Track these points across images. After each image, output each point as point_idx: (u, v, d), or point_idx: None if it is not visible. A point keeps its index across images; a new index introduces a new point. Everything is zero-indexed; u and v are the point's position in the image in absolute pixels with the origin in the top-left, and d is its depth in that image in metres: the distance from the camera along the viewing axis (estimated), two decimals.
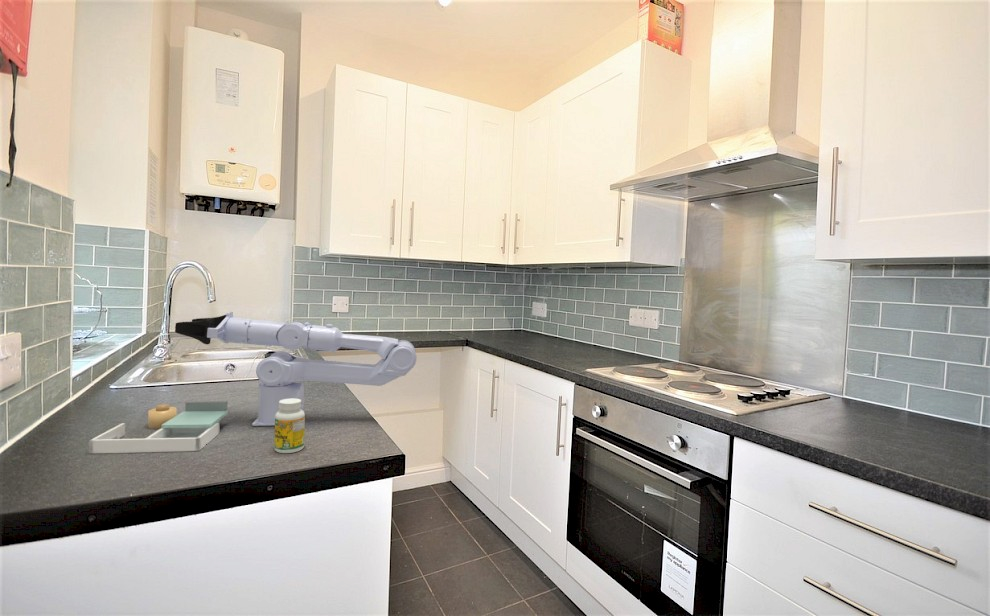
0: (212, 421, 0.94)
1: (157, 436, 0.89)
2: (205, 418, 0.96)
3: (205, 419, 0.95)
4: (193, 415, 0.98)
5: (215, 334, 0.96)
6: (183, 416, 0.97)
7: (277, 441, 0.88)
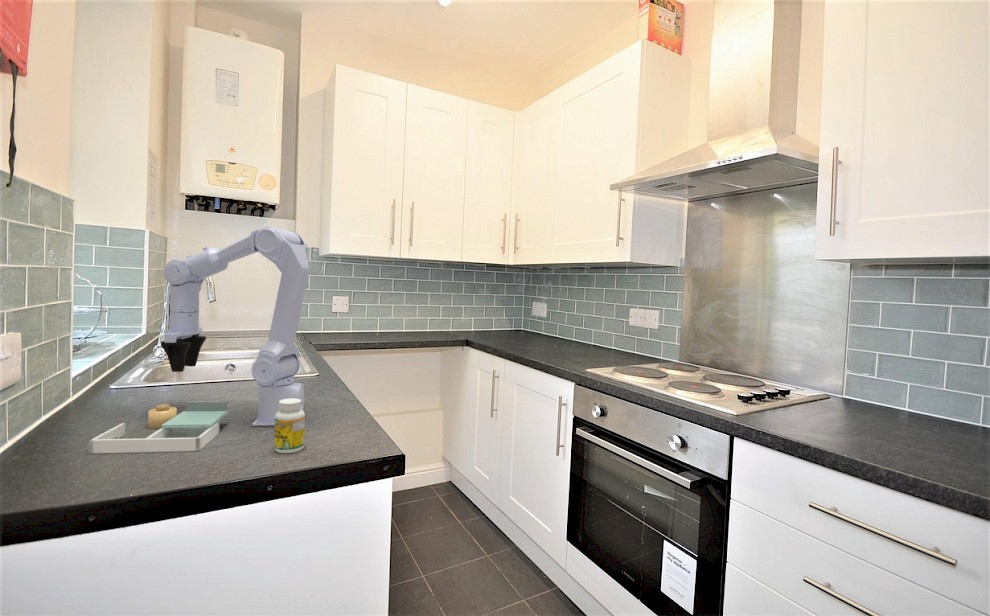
0: (212, 421, 0.94)
1: (157, 436, 0.89)
2: (205, 418, 0.96)
3: (205, 419, 0.95)
4: (193, 415, 0.98)
5: (170, 335, 1.01)
6: (183, 416, 0.97)
7: (277, 441, 0.88)
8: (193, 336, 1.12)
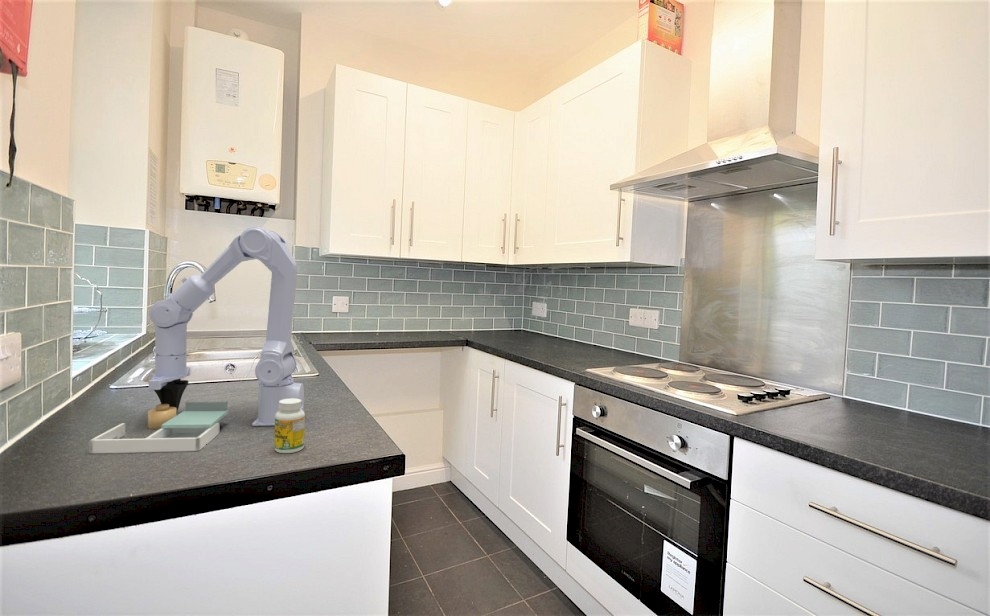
0: (212, 421, 0.94)
1: (157, 436, 0.89)
2: (205, 418, 0.96)
3: (205, 419, 0.95)
4: (193, 415, 0.98)
5: (154, 382, 0.96)
6: (183, 416, 0.97)
7: (277, 441, 0.88)
8: (180, 378, 1.06)
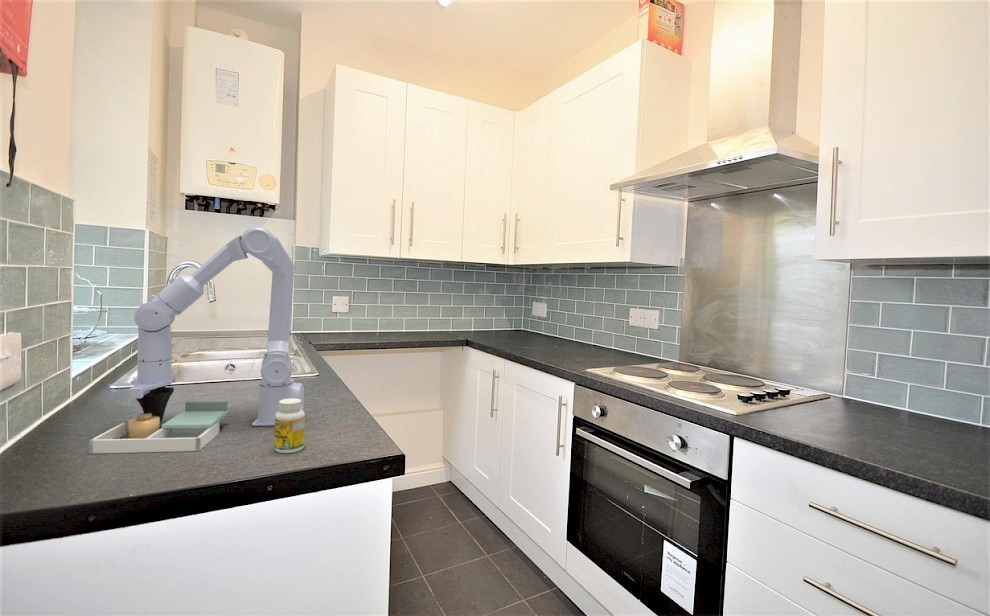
0: (212, 421, 0.94)
1: (157, 436, 0.89)
2: (205, 418, 0.96)
3: (205, 419, 0.95)
4: (193, 415, 0.98)
5: (136, 390, 0.89)
6: (183, 416, 0.97)
7: (277, 441, 0.88)
8: None
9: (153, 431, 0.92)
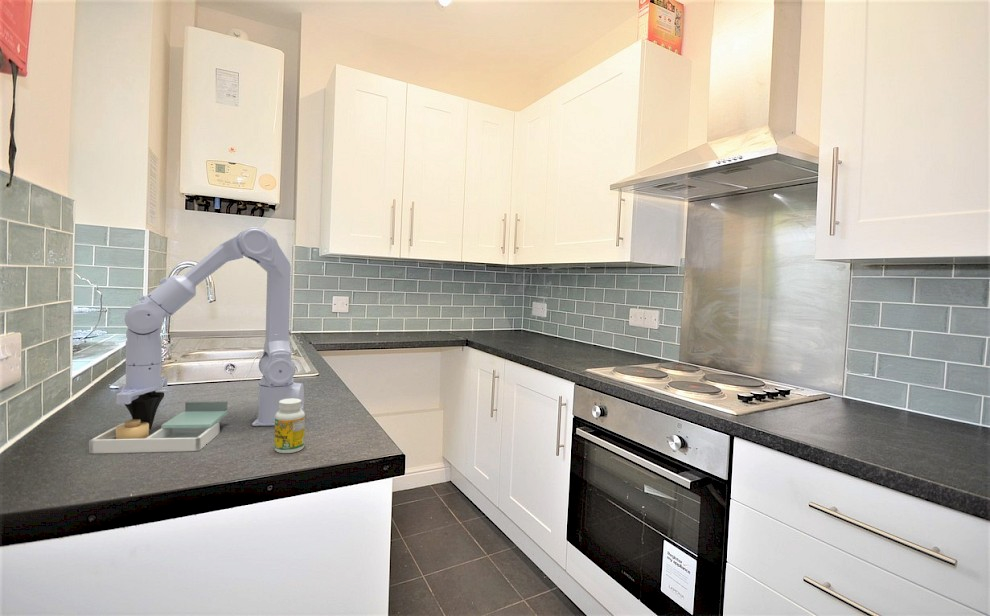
0: (212, 421, 0.94)
1: (157, 436, 0.89)
2: (205, 418, 0.96)
3: (205, 419, 0.95)
4: (193, 415, 0.98)
5: (123, 395, 0.85)
6: (183, 416, 0.97)
7: (277, 441, 0.88)
8: (155, 390, 0.95)
9: (142, 438, 0.88)
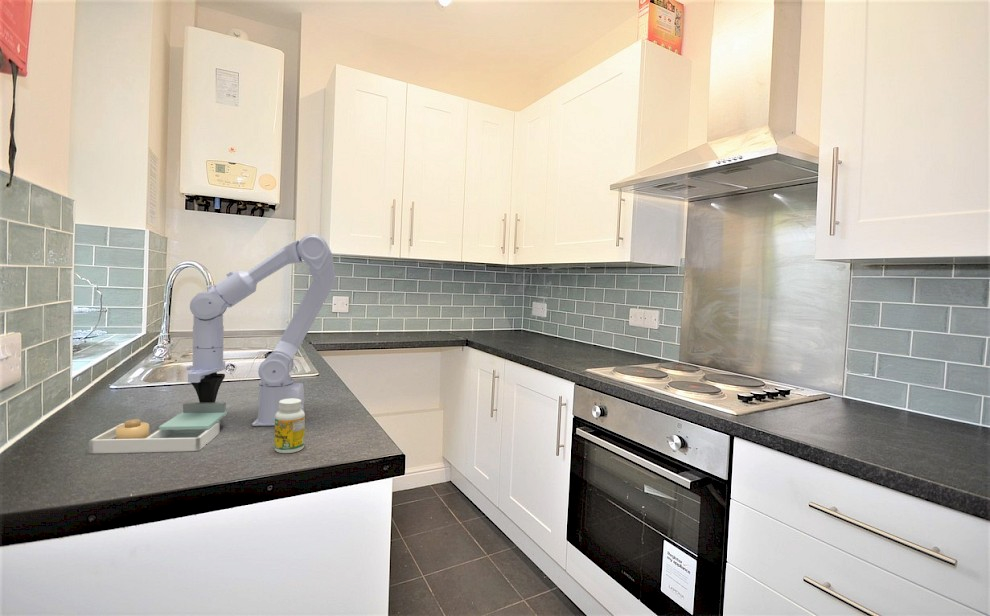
0: (210, 423, 0.93)
1: (157, 436, 0.89)
2: (202, 420, 0.95)
3: (203, 421, 0.94)
4: (191, 417, 0.96)
5: (194, 374, 0.94)
6: (181, 418, 0.96)
7: (277, 441, 0.88)
8: (216, 372, 1.05)
9: (142, 438, 0.88)
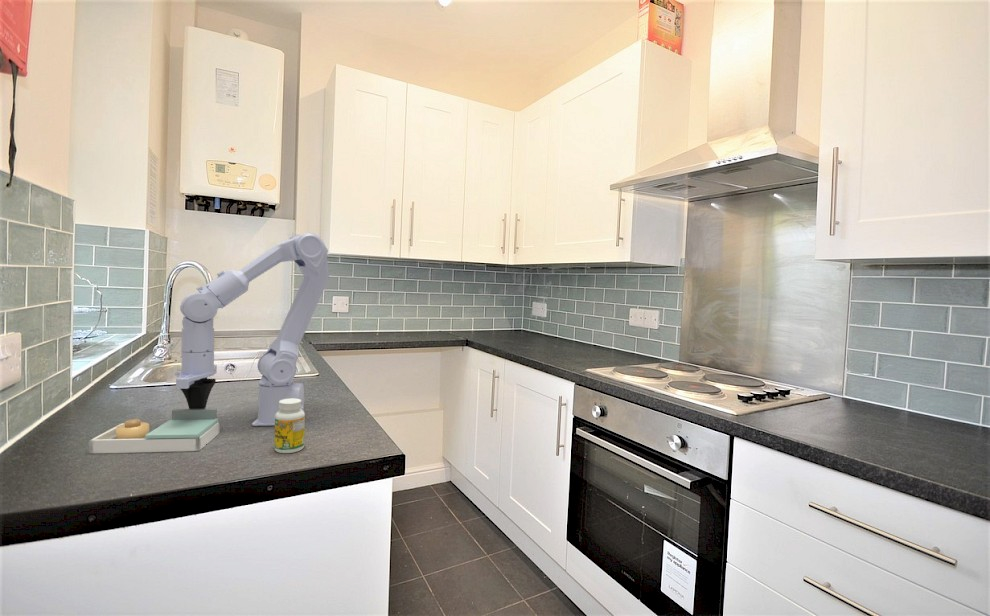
0: (199, 431, 0.88)
1: None
2: (192, 428, 0.90)
3: (192, 429, 0.89)
4: (180, 424, 0.92)
5: (182, 380, 0.89)
6: (169, 425, 0.91)
7: (277, 441, 0.88)
8: None
9: (143, 438, 0.88)
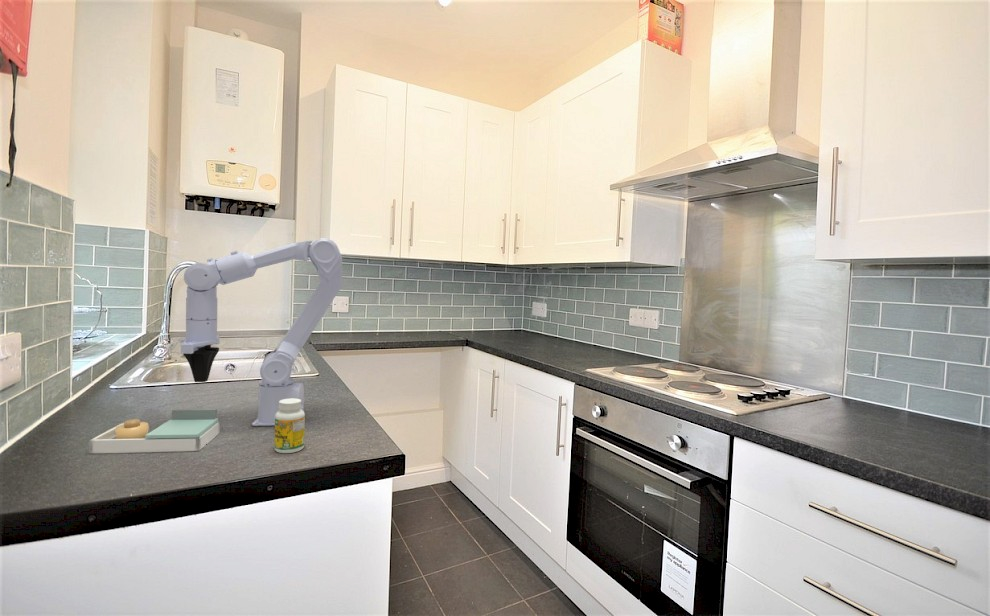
0: (199, 431, 0.89)
1: None
2: (192, 428, 0.90)
3: (192, 429, 0.89)
4: (180, 424, 0.92)
5: (187, 345, 0.92)
6: (169, 425, 0.91)
7: (277, 441, 0.88)
8: (210, 345, 1.03)
9: (144, 437, 0.89)
